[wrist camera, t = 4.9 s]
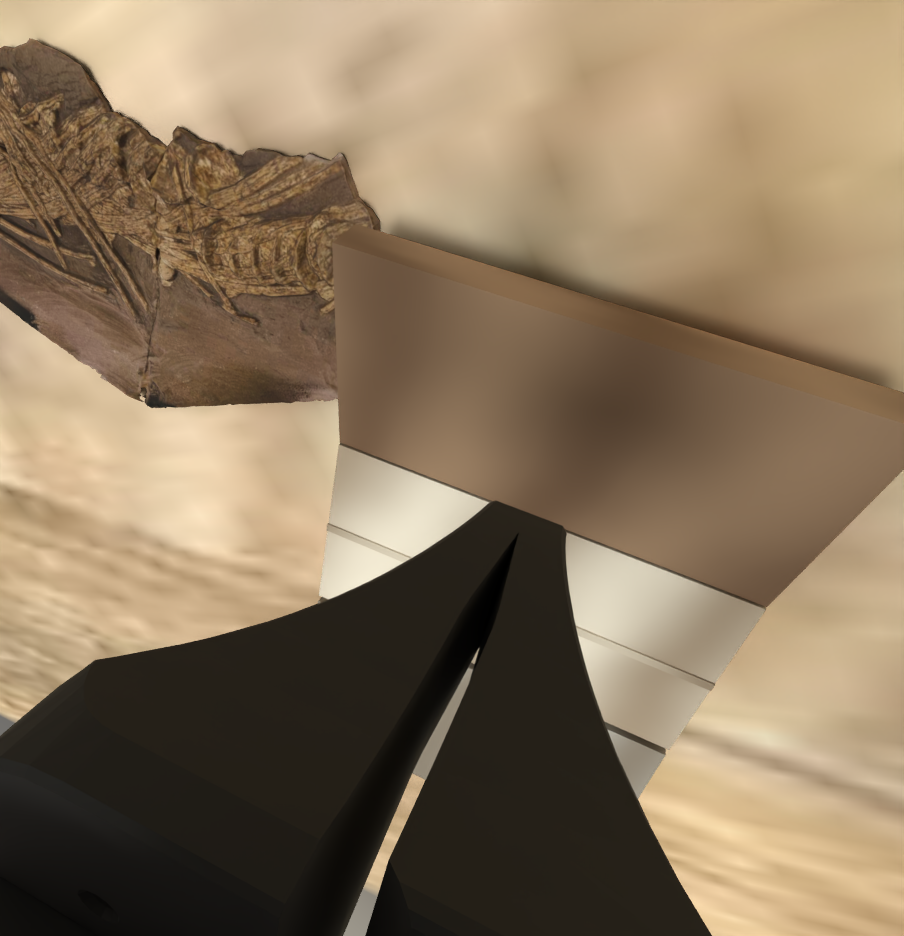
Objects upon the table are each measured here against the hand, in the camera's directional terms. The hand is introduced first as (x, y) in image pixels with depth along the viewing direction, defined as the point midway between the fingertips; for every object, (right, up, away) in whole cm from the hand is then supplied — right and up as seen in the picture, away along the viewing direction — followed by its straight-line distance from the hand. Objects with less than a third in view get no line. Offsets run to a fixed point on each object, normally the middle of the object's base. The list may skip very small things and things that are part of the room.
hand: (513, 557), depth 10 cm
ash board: (+1, -3, +11) cm, 11 cm away
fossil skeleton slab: (-14, +10, +11) cm, 20 cm away
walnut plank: (+2, +3, +6) cm, 7 cm away
